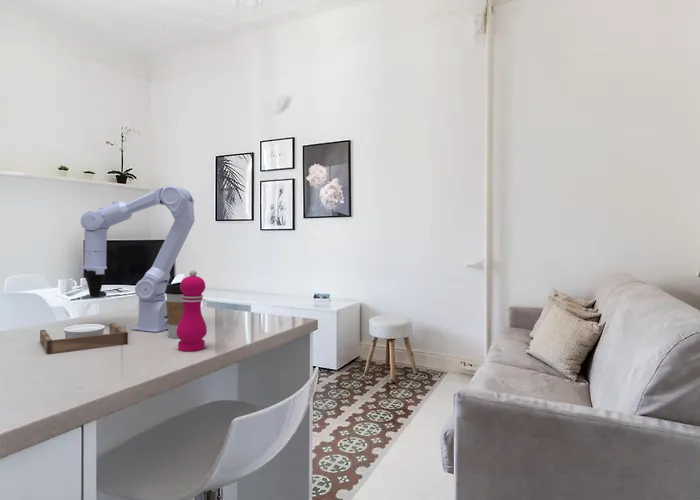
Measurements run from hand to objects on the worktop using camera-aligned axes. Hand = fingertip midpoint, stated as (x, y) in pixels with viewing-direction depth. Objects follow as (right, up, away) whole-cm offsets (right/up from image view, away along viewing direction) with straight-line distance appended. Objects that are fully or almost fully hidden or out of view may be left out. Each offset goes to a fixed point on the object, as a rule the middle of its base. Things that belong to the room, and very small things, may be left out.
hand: (94, 296), depth 127 cm
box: (+8, -10, -18) cm, 22 cm away
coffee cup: (+29, -11, -7) cm, 32 cm away
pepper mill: (+37, -11, -20) cm, 44 cm away
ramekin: (+9, -10, -19) cm, 23 cm away
